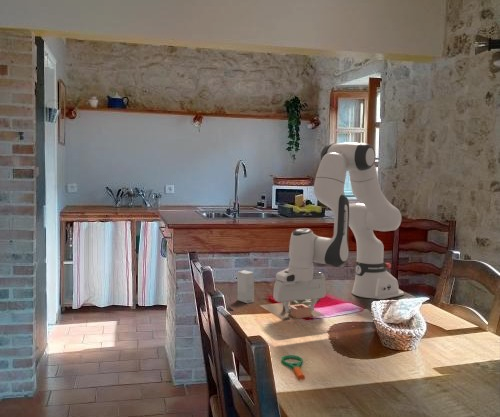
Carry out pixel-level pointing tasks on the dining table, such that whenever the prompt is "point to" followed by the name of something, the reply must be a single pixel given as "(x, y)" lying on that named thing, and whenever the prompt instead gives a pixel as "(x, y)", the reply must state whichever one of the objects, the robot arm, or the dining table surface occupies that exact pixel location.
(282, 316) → the wooden peg board
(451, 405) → the dining table surface
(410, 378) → the dining table surface
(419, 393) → the dining table surface
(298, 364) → the magnifying glass
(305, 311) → the chunky salmon square frame
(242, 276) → the skincare box
